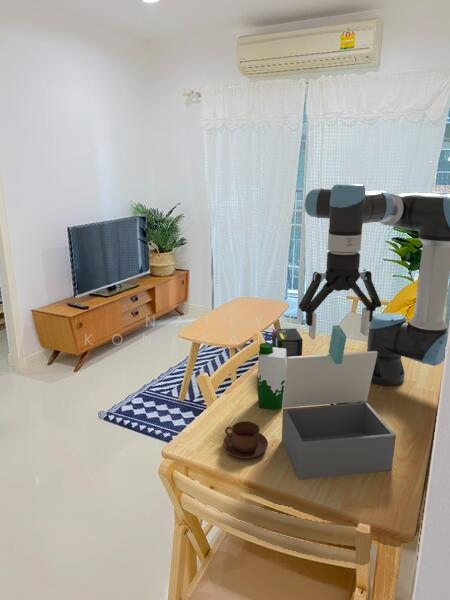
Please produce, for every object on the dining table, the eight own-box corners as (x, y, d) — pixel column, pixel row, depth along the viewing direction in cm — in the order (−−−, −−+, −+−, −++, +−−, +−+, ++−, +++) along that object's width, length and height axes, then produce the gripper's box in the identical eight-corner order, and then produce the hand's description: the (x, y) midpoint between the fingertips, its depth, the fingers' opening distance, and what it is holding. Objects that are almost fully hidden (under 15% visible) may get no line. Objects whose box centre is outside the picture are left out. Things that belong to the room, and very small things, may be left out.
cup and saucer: (219, 460, 114) (219, 439, 112) (227, 434, 126) (227, 414, 124) (265, 465, 112) (266, 444, 110) (269, 437, 124) (269, 418, 122)
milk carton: (259, 395, 146) (260, 339, 140) (286, 398, 144) (288, 341, 139) (255, 409, 138) (256, 350, 132) (284, 412, 136) (286, 352, 130)
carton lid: (371, 409, 119) (364, 397, 124) (390, 333, 107) (381, 322, 112) (285, 416, 116) (281, 404, 120) (295, 339, 104) (289, 328, 109)
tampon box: (270, 364, 169) (271, 328, 165) (294, 363, 170) (295, 327, 166) (276, 377, 159) (277, 339, 155) (301, 376, 160) (303, 338, 155)
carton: (363, 433, 125) (366, 402, 122) (391, 470, 110) (396, 435, 107) (281, 440, 122) (282, 408, 119) (298, 479, 107) (300, 444, 104)
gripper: (297, 256, 98) (293, 344, 105) (401, 252, 102) (392, 337, 108) (287, 250, 106) (285, 333, 112) (385, 246, 109) (378, 327, 115)
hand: (338, 335), depth 110 cm, fingers open, 13 cm apart
